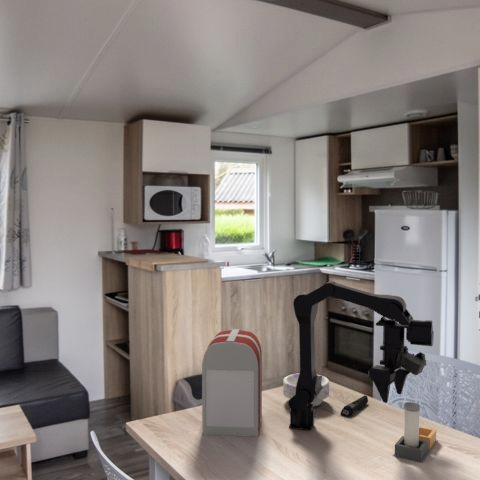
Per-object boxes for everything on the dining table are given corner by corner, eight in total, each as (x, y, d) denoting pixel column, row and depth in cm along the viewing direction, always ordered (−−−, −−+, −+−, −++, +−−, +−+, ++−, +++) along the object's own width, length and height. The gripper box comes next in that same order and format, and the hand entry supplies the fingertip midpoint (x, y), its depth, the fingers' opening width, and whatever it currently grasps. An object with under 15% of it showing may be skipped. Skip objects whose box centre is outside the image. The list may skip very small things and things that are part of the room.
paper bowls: (285, 411, 178) (285, 386, 178) (281, 395, 194) (281, 372, 193) (332, 410, 179) (333, 386, 178) (325, 395, 194) (325, 372, 193)
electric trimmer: (371, 405, 185) (371, 395, 185) (350, 418, 173) (350, 408, 172) (360, 403, 187) (360, 393, 187) (339, 416, 175) (339, 406, 175)
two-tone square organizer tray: (422, 467, 139) (422, 451, 139) (392, 459, 144) (392, 444, 143) (438, 444, 153) (438, 430, 153) (410, 438, 157) (410, 424, 157)
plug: (403, 456, 143) (404, 406, 142) (403, 450, 147) (404, 401, 146) (419, 458, 142) (420, 408, 141) (418, 452, 146) (419, 403, 145)
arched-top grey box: (262, 413, 176) (262, 329, 175) (258, 436, 159) (258, 342, 157) (210, 412, 178) (210, 327, 176) (201, 434, 160) (200, 341, 159)
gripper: (408, 354, 142) (406, 414, 143) (434, 340, 156) (433, 395, 157) (367, 347, 149) (366, 404, 150) (396, 335, 163) (395, 387, 164)
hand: (392, 398), depth 155 cm, fingers open, 9 cm apart
